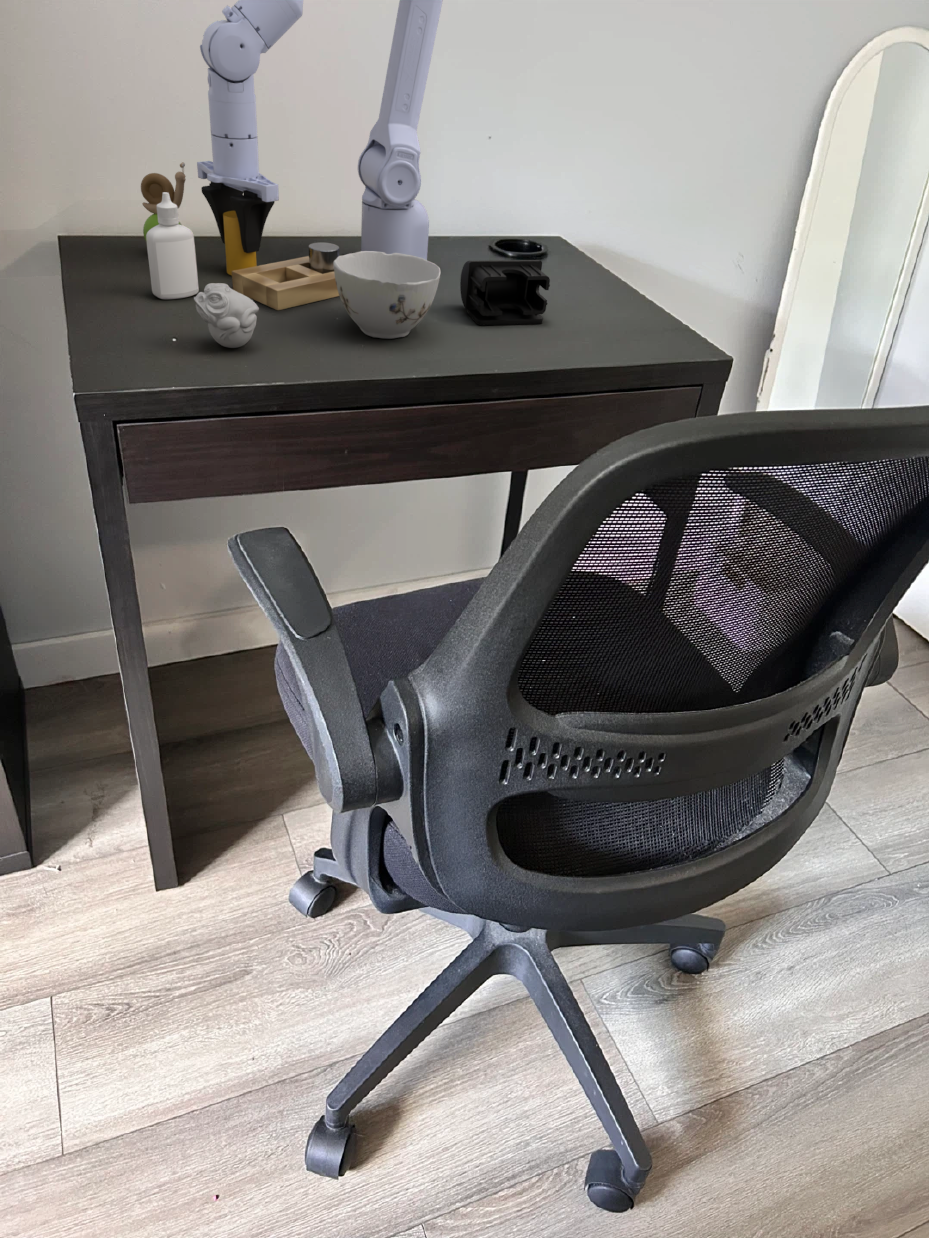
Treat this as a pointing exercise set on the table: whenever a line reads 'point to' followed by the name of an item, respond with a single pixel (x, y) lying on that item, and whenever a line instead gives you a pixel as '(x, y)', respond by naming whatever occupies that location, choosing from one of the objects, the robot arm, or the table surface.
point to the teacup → (386, 290)
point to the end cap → (504, 291)
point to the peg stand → (285, 283)
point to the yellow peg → (235, 245)
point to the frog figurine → (227, 314)
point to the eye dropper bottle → (171, 254)
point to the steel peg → (322, 257)
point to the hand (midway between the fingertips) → (240, 247)
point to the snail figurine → (160, 194)
